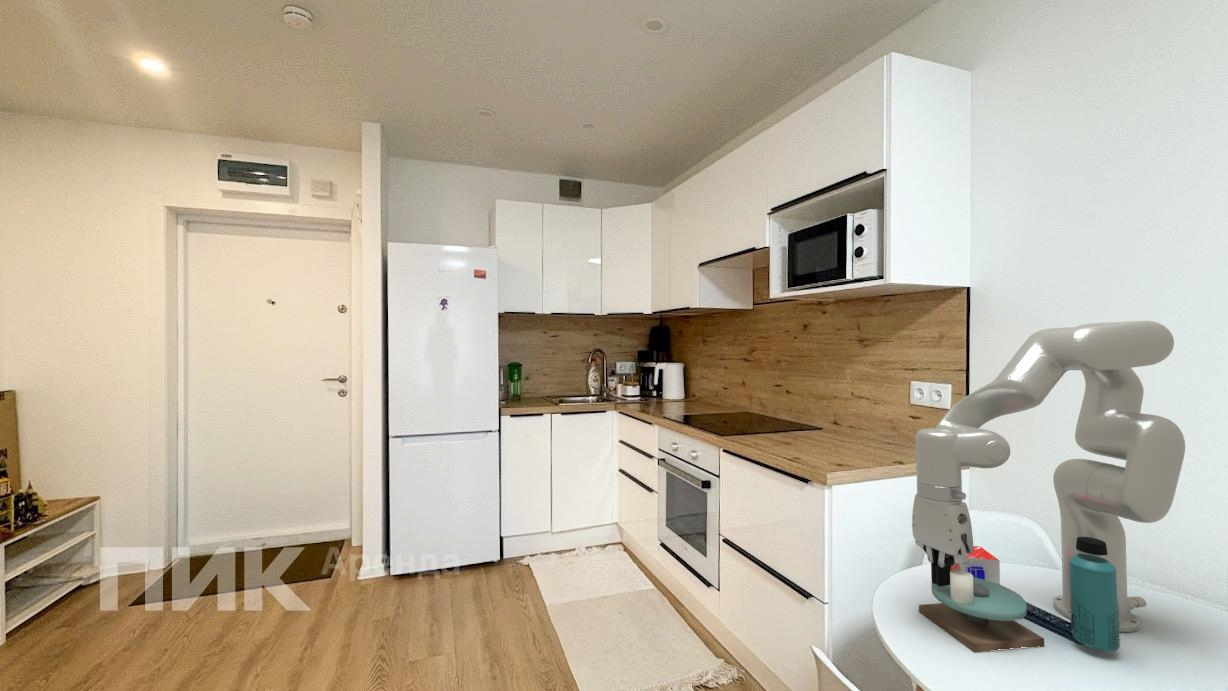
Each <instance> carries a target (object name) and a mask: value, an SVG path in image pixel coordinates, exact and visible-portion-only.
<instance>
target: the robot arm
mask: <svg viewBox="0 0 1228 691" xmlns="http://www.w3.org/2000/svg"><path fill="white" fill-rule="evenodd" d="M1174 339H1175V338H1174V336H1173V334H1172V332H1171V331H1170V330H1169V329H1168V328H1167V326H1165V325H1163V324H1161V323H1160V322H1156V321H1152V320H1133V321H1132V320H1131V321H1113V322H1112V321H1110V322H1095V323H1086V324H1080V325H1076V326H1075V327H1069V326H1068V327H1053V328H1045V329H1041V330H1038V331H1036V332H1034V333H1032V334H1031V335H1030V336H1029V337H1028V338H1027V339H1026V340H1025V341H1024V343H1023V344H1022V345H1021V346H1020V348H1018V350H1017V351H1016V353H1014V355H1013V357H1012V358H1011V359H1010V360H1009V361H1008V363H1007V364H1006V365H1005V366H1004V368H1003V369H1002V370H1001V371H1000V373H999V374H998V375H997V376H996V377H995V379H994V380H992V381H991V382H990V383H988V384H985V385H983V386H982V387H980V388H978V389H976V390H975V391H973V392H972V393H969V394H968V395H966V396H965V397H963V398H962V399H960V400H958V401H957V402H956V403H955V404H954V405H952V406H951V407H950V409H948V411H947V412H946V413H945V414H944V415H943V417H942V418H941V420H939V422H938V424H937V425H936V426H935V428H934V427H933V428H922V429H920V430H918V431H917V432H916V434H915V455H916V456H915V460H916V493H915V495H914V499H913V505H912V512H911V514H912V516H911V517H912V518H911V528H912V529H911V530H912V536H913V539H914V540H915V541H914V542H915V544H916V545H917V546H918V547H920V548H921V549H922V550H923V551H924V552H925V554H926V556H927V561H928V562H929V563H930V568H931V570H930V574H931V576H930V577H931V584H932V583H933V584H936V585H937V586H940V587H941V586H946V585H950V571H951V566H953V565H954V564H955V563H958V564H966V563H968V562H969V561H968V557H967V554H971V553H973V546H974V536H973V527H972V522H971V516H970V512H969V508H968V505H967V503H966V502H964V500H966V498H967V494H966V493H965V492H964V491H963V486H962V484H963V482H962V480H963V478H962V477H963V476H962V467H969V468H978V469H994V468H998V467H1000V466H1002V465H1004V464H1005V463H1006V462H1007V461H1008V460H1009V458H1010V456H1011V447H1010V444H1009V442H1008V441H1007V439H1006V438H1004V436H1002V435H1001V434H999V433H997V432H995V431H992V430H988V429H983V428H981V427H983V426H984V425H985V424H986V423H988V422H990V421H993V420H994V419H996V418H1000V417H1003V416H1006V415H1010V414H1016V413H1020V412H1023V411H1024V412H1025V411H1027V410H1031V409H1033V408H1037V407H1038V406H1039V405H1041V404H1042V403H1043V402H1044V400H1045V399H1046V398H1047V396H1048V395H1049V394H1050V393H1051V391H1052V390H1053V389H1054V387H1055V386H1056V385H1057V384H1058V382H1060V380H1061V378H1063V376H1064V375H1065V374H1066V373H1067V372H1068V371H1080V372H1081V373H1082V375H1083V378H1084V382H1085V387H1084V388H1085V389H1084V394H1083V398H1082V402H1081V406H1080V410H1079V414H1078V419H1077V423H1076V426H1075V432H1074V439H1075V442H1076V445H1078V446H1079V447H1080V448H1081V449H1082V450H1084V451H1086V452H1088V453H1091V454H1094V455H1099V456H1103V457H1107V458H1113V459H1117V460H1121V461H1125V467H1124V466H1119V465H1116V464H1113V463H1107V462H1102V461H1097V460H1092V459H1085V458H1072V459H1067V460H1065V461H1063V462H1061V463H1059V465H1058V466H1056V468H1055V469H1054V472H1053V478H1052V479H1053V489H1054V490H1055V495H1056V498H1057V501H1058V502H1057V503H1058V506H1059V514H1060V531H1061V532H1060V534H1061V535H1060V536H1061V537H1060V538H1061V539H1060V541H1061V543H1060V544H1061V572H1062V573H1061V574H1062V576H1061V577H1062V580H1061V582H1062V594H1061V595H1058V596H1055V597H1054V598H1053V600H1052V602H1053V604H1052V605H1053V608H1054V609H1055V610H1056V611H1057V612H1059V613H1060V614H1061V615H1063V616H1064V617H1067V618H1068V619H1070V620H1071V608H1070V607H1071V602H1070V601H1071V595H1070V583H1069V582H1070V563H1069V559H1070V558H1071V557H1073V556H1075V555H1077V554H1088V553H1085V552H1082V551H1079V550H1077V549H1076V542H1077V538H1078V537H1091V538H1096V539H1099V540H1102V541H1104V542H1105V543H1106V547H1107V555H1094V556H1098V557H1101V558H1104V559H1106V560H1108V561H1109V562H1110V563H1111V564H1112V565H1114V566H1115V568H1116V570H1117V572H1116V580H1117V598H1118V599H1117V600H1118V605H1119V606H1118V607H1119V609H1118V610H1119V611H1118V612H1120V613H1118V619H1119V622H1120V625H1119V633H1132V632H1136V631H1138V630H1139V629H1140V620H1139V619H1138V618H1137V616H1136V615H1134V614H1133V613H1132V610H1133V609H1134V608H1145V607H1147V601H1146V599H1145V598H1144V597H1141V596H1137V595H1136V596H1130V597H1129V596H1128V575H1127V574H1128V572H1127V570H1128V568H1127V539H1126V532H1125V529H1124V526H1123V524H1122V522H1121V520H1120V518H1123V519H1127V520H1130V521H1133V522H1137V523H1144V524H1150V523H1151V524H1153V523H1156V522H1158V521H1161V520H1162V519H1164V518H1165V517H1166V516H1167V514H1168V512H1169V511H1170V509H1171V508H1172V505H1173V501H1174V499H1175V495H1176V490H1177V487H1178V482H1179V479H1180V476H1181V471H1182V467H1183V462H1184V459H1185V453H1186V441H1185V437H1184V434H1183V432H1182V430H1181V428H1180V427H1179V426H1178V425H1177V424H1176V423H1175V422H1173V420H1170V419H1168V418H1166V417H1163V416H1159V415H1156V414H1148V413H1141V411H1142V410H1141V409H1142V405H1143V404H1142V403H1143V398H1144V386H1143V383H1142V381H1141V379H1140V378H1139V375H1137V373H1136V372H1135V371H1134V370H1133V368H1138V367H1147V366H1152V365H1153V366H1154V365H1155V364H1158V363H1161V362H1163V361H1164V360H1166V359H1167V358H1168V357H1169V356H1170V355H1171V354H1172V351H1173V349H1174V346H1175V340H1174ZM1079 447H1078V448H1079ZM1089 555H1093V554H1089ZM1119 617H1120V618H1119Z"/></svg>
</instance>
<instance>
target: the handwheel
mask: <svg viewBox="0 0 1228 691" xmlns="http://www.w3.org/2000/svg"><path fill="white" fill-rule="evenodd" d="M931 594H932V596H934V598H935V599H936V600H938V601H939V603H943V604H945V605H947V606H948V607H950V608H953V609H955V610H957V611H960V612H962V613H965V614H968V615H972V616H976V617H980V618H984V619H990V620H999V621H1013V620H1014V621H1018V620H1021V619H1023V618H1024V617H1026V616H1027V612H1028V610H1027V602H1026V600H1025V599H1024V597H1023V596H1021V595H1020V594H1019V593H1017V592H1016V591H1014V590H1013V589H1010V588H1008V587H1006V586H1003V585H1002V584H1000V585H999V584H996V583H993V582H990V581H987V580H983V579H979V578H974V577H973V575H972V574H971V573H969V572H966V571H962V570H951V571H950V585H946V586H941V587H940V586H937V585H936V584H933V583H932V582H931Z"/></svg>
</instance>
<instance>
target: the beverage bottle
mask: <svg viewBox="0 0 1228 691" xmlns="http://www.w3.org/2000/svg"><path fill="white" fill-rule="evenodd" d="M1076 549H1077V550H1079V551H1082V552H1085V553H1088V554H1077V555H1075V556H1073V557H1071V558H1070V559H1069V563H1070V582H1069V583H1070V595H1071V601H1070V602H1071V607H1070V608H1071V619H1070V628H1071V629H1070V632H1071V634H1072V637H1073V639H1074V640H1075V641H1076V642H1079V643H1080V644H1082V645H1084V646H1086V647H1089V648H1091V649H1095V650H1097V651H1103V652H1109V653H1113V652H1117V651H1118V650H1119V649H1120V647H1121V637H1120V632H1119V625H1120V622H1119V619H1118V613H1120V612H1118V611H1119V610H1118V609H1119V607H1118V606H1119V605H1118V600H1117V599H1118V598H1117V580H1116V572H1117V570H1116V568H1115V566H1114V565H1112V564H1111V563H1110V562H1109V561H1108V560H1106V559H1104V558H1101V557H1098V556H1094V555H1107V547H1106V543H1105V542H1104V541H1102V540H1099V539H1096V538H1091V537H1078V538H1077V542H1076ZM1089 554H1093V555H1089ZM1119 618H1120V617H1119Z"/></svg>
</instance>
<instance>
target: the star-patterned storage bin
mask: <svg viewBox="0 0 1228 691" xmlns="http://www.w3.org/2000/svg"><path fill="white" fill-rule="evenodd" d="M967 557H968V561H969V562H968V563H966V564H958V563H955V564H954V565H953V566H951V570H962V571H966V572H969V573H971V574H972V575H973V577H974V578H979V579H983V580H987V581H990V582H993V583H996V584H999V585H1001V577H1000V576H1001V575H1000V574H1001V573H1000V572H1001V571H1000V570H1001V569H1000V568H1001V566H1000V559H999V558H997V557H996V556H994V555H993V554H991V553H990V552H988V551H987V550H986V549H985V548H983V547H982V546H978V545H973V553H971V554H967Z"/></svg>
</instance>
